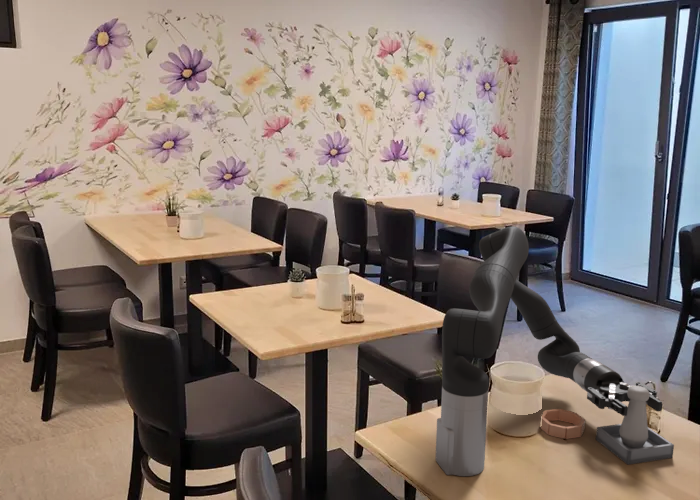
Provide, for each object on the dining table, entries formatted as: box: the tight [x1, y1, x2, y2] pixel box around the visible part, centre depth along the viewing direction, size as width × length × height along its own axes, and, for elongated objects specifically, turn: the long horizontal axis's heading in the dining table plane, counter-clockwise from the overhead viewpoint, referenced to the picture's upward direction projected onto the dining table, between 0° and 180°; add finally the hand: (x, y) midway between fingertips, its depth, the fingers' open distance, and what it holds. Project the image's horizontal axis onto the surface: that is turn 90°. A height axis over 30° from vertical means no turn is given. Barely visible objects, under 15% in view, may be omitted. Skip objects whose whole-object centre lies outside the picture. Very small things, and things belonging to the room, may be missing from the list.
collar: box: [540, 408, 586, 440], centre depth 156 cm, size 9×9×2 cm
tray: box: [595, 423, 675, 465], centre depth 147 cm, size 11×11×3 cm
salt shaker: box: [619, 385, 649, 449], centre depth 146 cm, size 6×6×13 cm
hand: (643, 409), depth 144 cm, fingers open, 8 cm apart
